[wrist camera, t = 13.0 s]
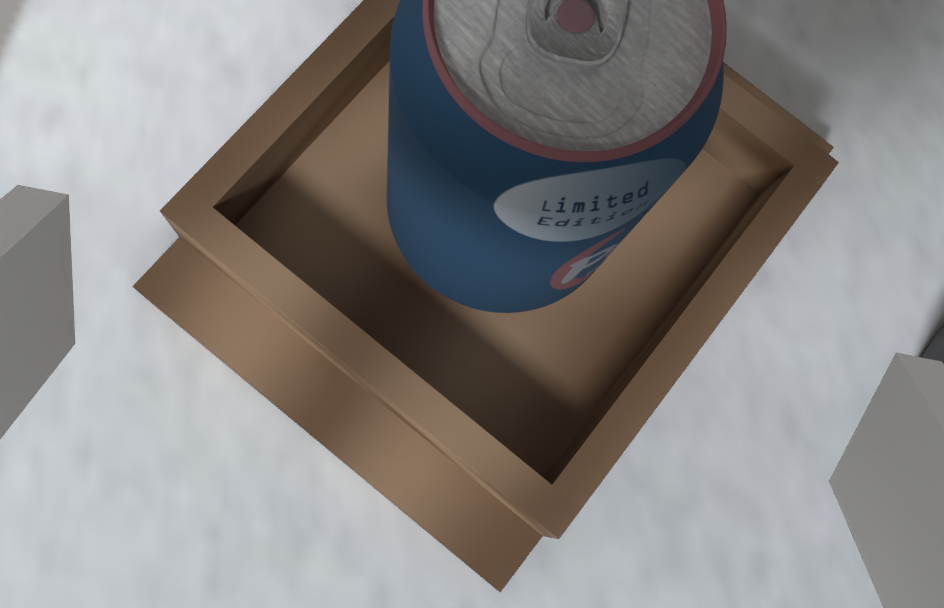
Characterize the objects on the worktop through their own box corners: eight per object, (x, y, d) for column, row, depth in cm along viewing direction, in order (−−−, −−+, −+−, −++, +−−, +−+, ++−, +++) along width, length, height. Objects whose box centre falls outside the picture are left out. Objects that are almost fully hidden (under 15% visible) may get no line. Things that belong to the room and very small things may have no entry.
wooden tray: (819, 158, 31) (873, 115, 28) (495, 589, 27) (512, 601, 23) (501, -87, 32) (516, -158, 28) (141, 294, 28) (107, 264, 24)
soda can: (585, 343, 28) (733, 226, 16) (363, 295, 27) (350, 138, 16) (621, 138, 29) (780, -104, 18) (412, 89, 29) (433, -190, 17)
